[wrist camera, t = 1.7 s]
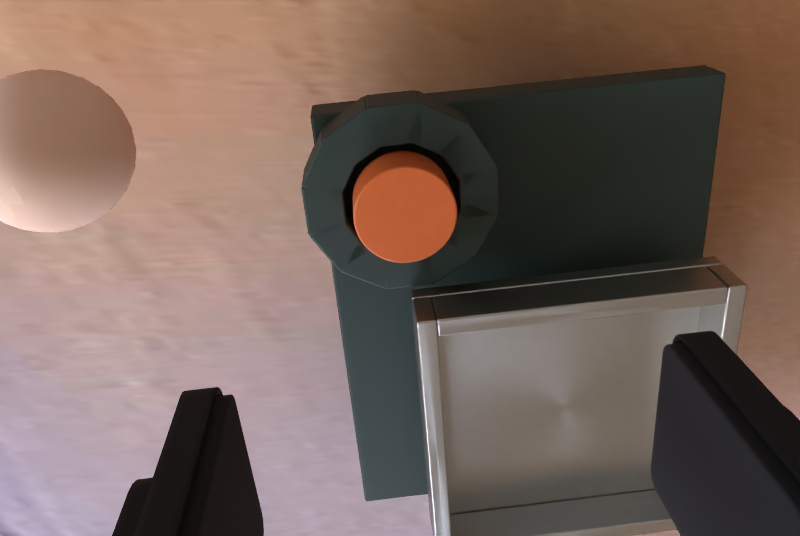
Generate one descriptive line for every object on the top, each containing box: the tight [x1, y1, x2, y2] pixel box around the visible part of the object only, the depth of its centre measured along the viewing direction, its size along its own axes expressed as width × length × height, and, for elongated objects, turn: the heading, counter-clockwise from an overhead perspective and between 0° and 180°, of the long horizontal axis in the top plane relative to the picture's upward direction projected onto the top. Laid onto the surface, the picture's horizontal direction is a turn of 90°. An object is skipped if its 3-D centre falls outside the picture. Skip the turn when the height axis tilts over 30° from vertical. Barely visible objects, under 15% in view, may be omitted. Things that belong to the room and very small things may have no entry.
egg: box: [0, 69, 136, 232], centre depth 20 cm, size 4×4×6 cm
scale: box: [302, 65, 725, 501], centre depth 25 cm, size 16×14×3 cm
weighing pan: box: [411, 256, 747, 536], centre depth 24 cm, size 10×10×2 cm
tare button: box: [352, 151, 457, 263], centre depth 21 cm, size 3×3×2 cm
